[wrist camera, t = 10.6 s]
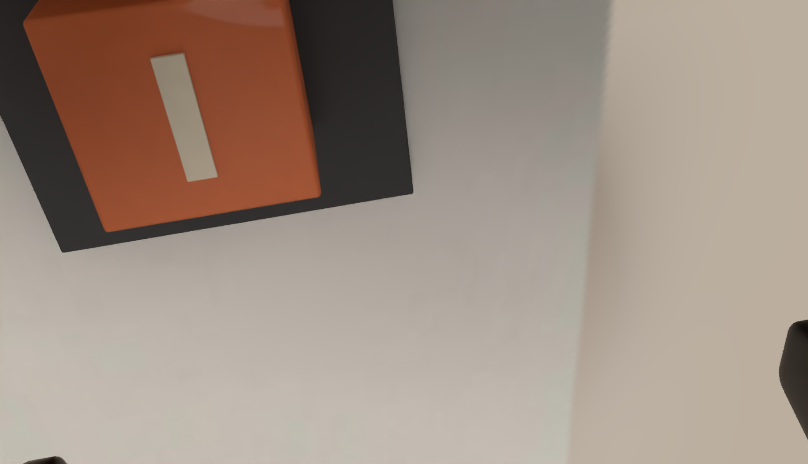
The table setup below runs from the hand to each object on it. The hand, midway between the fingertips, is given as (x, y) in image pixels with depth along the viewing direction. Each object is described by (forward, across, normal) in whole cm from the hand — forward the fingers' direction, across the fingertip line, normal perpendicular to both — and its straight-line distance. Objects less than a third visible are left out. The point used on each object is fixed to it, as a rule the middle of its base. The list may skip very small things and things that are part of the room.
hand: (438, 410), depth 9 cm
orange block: (+10, +4, -1) cm, 11 cm away
